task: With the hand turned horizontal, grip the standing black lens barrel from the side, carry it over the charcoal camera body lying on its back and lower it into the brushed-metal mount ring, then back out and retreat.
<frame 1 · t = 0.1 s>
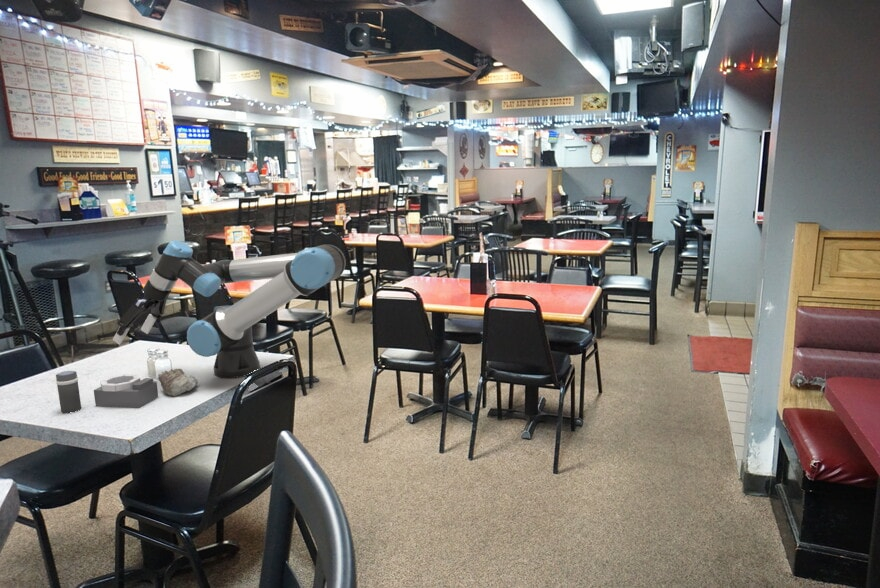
hand: (130, 336, 190), 15 cm above the table, tool tilted 35°, fingers open, 13 cm apart
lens: (71, 410, 168), on the table
grey brown rock: (180, 391, 184), on the table
camera body: (127, 401, 174), on the table
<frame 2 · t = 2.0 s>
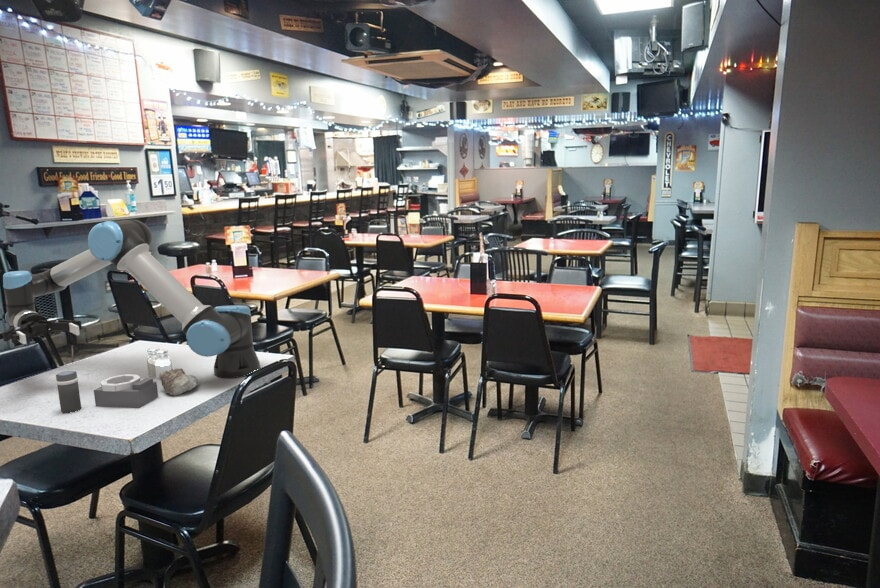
hand: (52, 335, 171), 21 cm above the table, tool horizontal, fingers open, 13 cm apart
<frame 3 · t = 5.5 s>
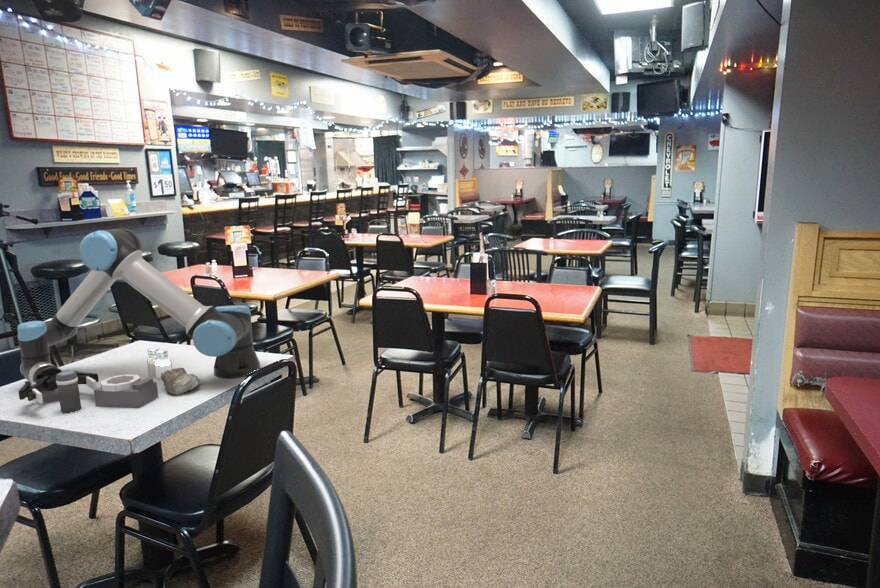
hand: (69, 392, 166), 6 cm above the table, tool horizontal, fingers open, 13 cm apart
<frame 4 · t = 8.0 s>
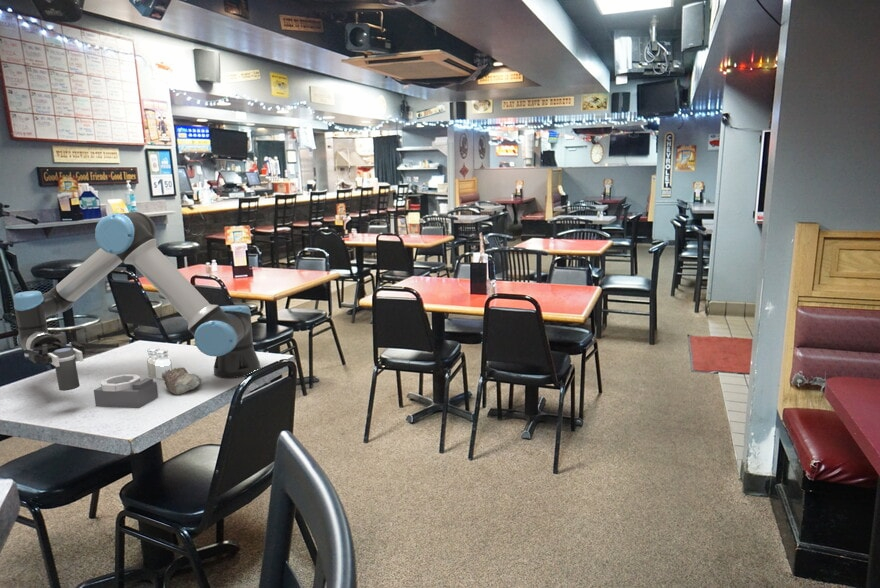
hand: (69, 359, 162), 16 cm above the table, tool horizontal, fingers closed on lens, 5 cm apart
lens: (69, 387, 167), point 7 cm above the table, touching gripper
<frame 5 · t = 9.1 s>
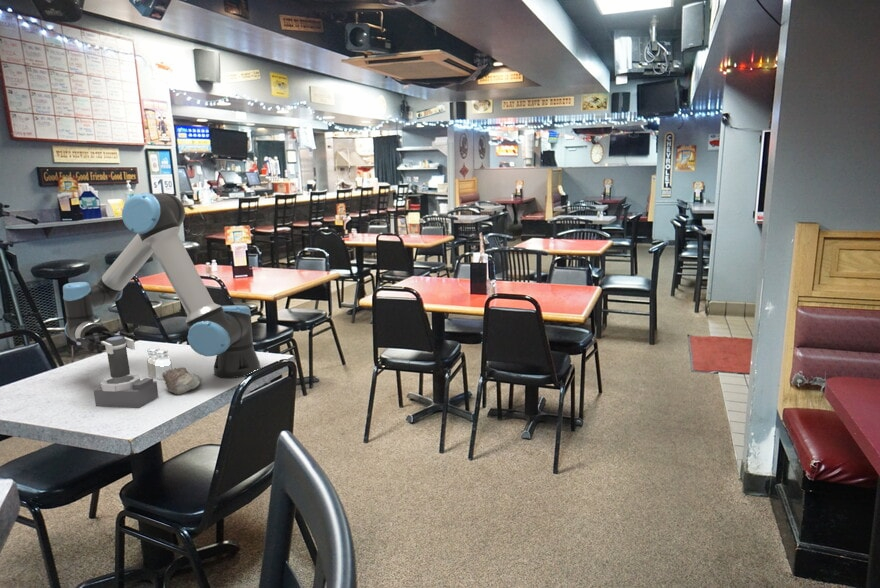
hand: (122, 347, 168), 18 cm above the table, tool horizontal, fingers closed on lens, 5 cm apart
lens: (120, 374, 173), point 8 cm above the table, touching gripper
when the fingers open (12 cm above the table, at t = 10.8 s): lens stays where it is, resting on camera body.
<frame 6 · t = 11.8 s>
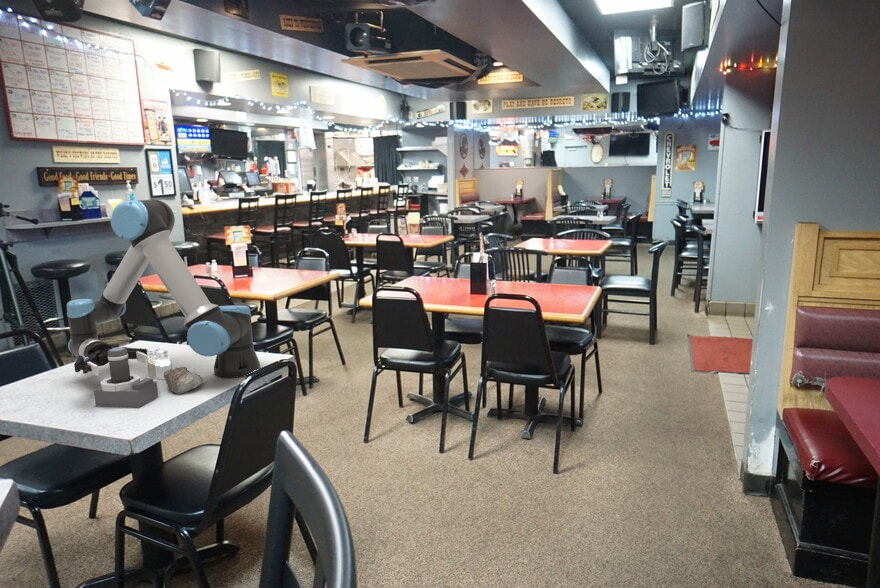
hand: (122, 365, 170), 12 cm above the table, tool horizontal, fingers open, 13 cm apart
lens: (121, 385, 174), point 5 cm above the table, touching camera body
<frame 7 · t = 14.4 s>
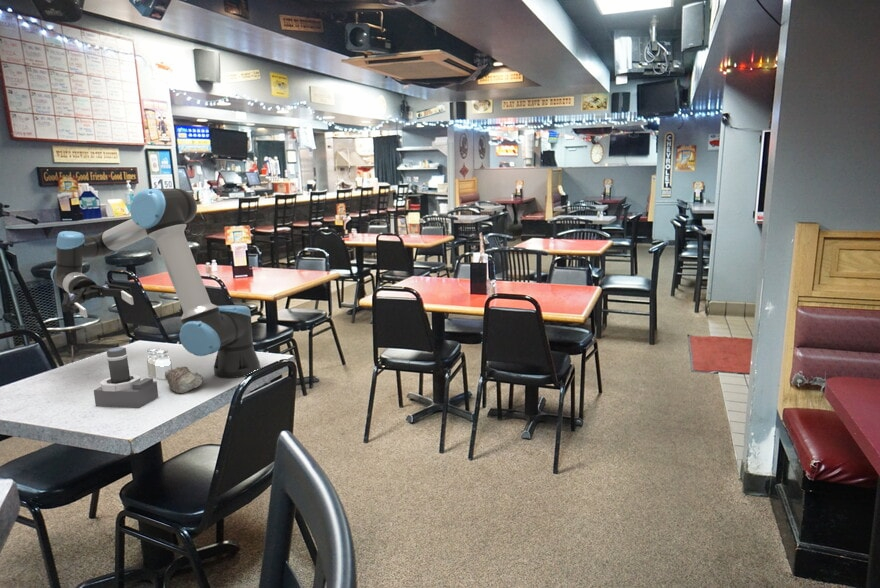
hand: (109, 307, 178), 27 cm above the table, tool horizontal, fingers open, 13 cm apart
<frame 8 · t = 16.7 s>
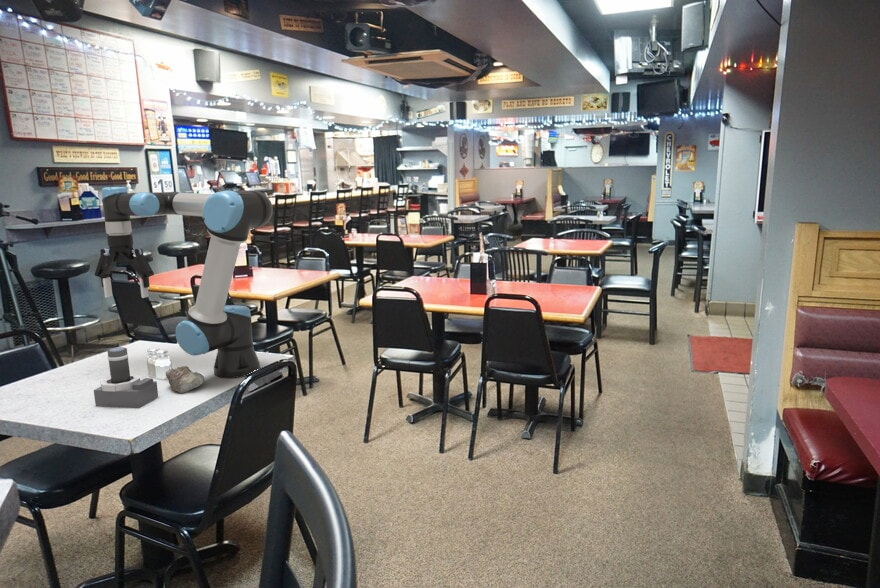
hand: (127, 297, 197), 27 cm above the table, tool pointing down, fingers open, 13 cm apart
at the end: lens 0.3 cm from the target spot on the camera body, point 5.1 cm above the camera body's base; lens tilted 2°; the gripper is holding nothing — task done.
